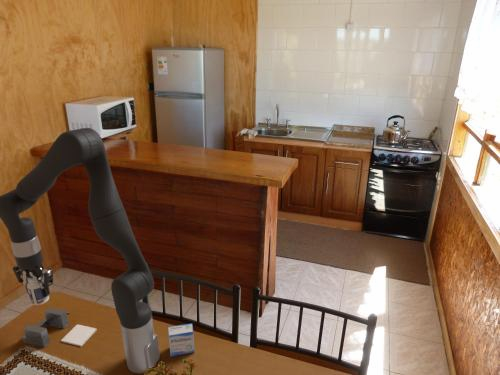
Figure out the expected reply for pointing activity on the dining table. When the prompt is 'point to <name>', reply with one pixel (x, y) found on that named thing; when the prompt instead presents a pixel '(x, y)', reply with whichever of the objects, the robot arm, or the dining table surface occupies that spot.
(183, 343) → the medicine box
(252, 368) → the dining table surface
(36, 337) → the dumbbell
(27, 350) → the dining table surface
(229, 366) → the dining table surface
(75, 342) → the mat
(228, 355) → the dining table surface
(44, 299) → the pill bottle
